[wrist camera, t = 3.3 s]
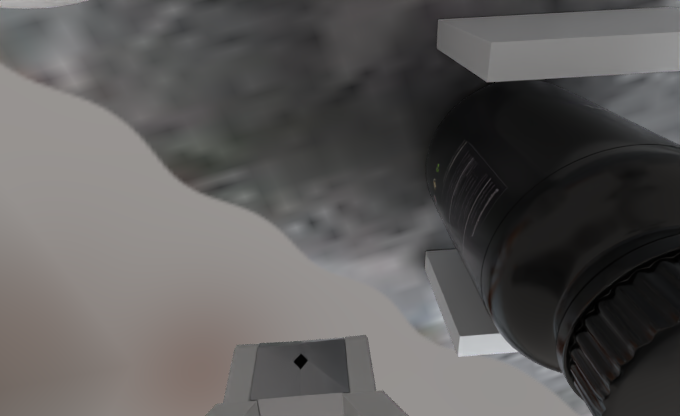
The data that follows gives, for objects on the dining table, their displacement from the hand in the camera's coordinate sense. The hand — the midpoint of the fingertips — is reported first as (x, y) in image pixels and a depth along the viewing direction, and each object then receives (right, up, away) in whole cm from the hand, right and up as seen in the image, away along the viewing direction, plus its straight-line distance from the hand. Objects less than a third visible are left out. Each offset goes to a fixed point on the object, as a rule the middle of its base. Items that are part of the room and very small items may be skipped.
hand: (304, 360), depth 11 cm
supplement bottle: (+8, +6, +9) cm, 13 cm away
